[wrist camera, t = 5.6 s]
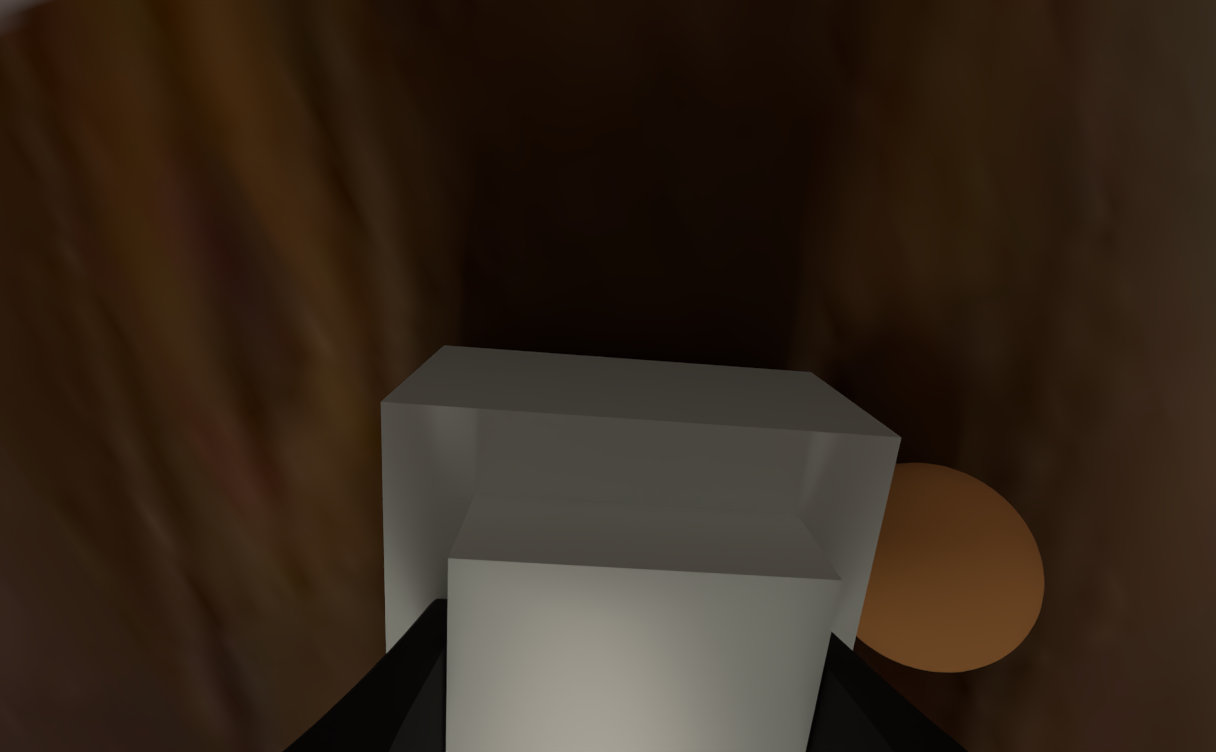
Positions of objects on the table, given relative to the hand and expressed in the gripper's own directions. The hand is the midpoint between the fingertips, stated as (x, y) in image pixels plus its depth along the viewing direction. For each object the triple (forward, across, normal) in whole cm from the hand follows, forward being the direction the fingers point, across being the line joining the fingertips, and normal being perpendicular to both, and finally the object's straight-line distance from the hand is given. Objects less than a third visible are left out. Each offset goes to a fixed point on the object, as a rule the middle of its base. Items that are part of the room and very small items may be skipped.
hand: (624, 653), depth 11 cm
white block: (+5, 0, 0) cm, 5 cm away
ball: (+4, -8, 0) cm, 9 cm away
